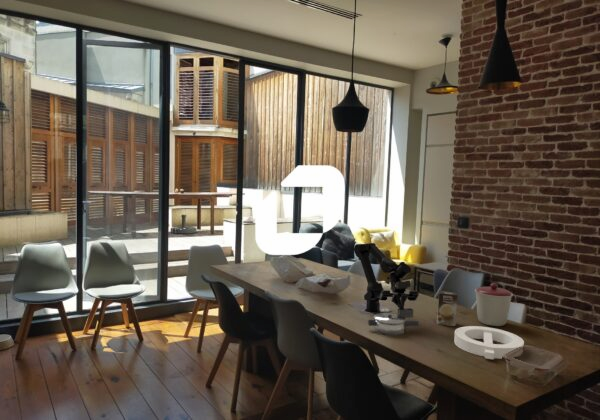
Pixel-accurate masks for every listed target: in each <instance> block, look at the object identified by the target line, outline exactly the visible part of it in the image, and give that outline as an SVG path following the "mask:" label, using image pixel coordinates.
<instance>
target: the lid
mask: <svg viewBox="0 0 600 420" xmlns="http://www.w3.org/2000/svg"><path fill="white" fill-rule="evenodd" d="M411 318H414V309H413V308H407V307H406V308H404V309H399V308H397V314H396V313H391V312H380V313H376V314H375V313H374V315H373V320H376V321H378V322H380V323H385V324H403V323H405V320H407V319H411Z"/></svg>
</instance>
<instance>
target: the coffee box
mask: <svg viewBox="0 0 600 420" xmlns="http://www.w3.org/2000/svg"><path fill="white" fill-rule="evenodd" d="M437 300H438V301H437V314H436V324H437V325H442V326H448V327H449V326H450V327H456V322H457V306H458V292H454V291H453V292H452V291H447V290H438V299H437Z"/></svg>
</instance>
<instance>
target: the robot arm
mask: <svg viewBox="0 0 600 420" xmlns="http://www.w3.org/2000/svg"><path fill="white" fill-rule="evenodd" d="M353 251H354V252H353V253H354V254H355V256H356V257H357V258H358V259H359V260H360V264H361V266H362V269H363V272H364V275H365V279H366V282H367V287H366V291H367V292H366V293H365V294H363V298H364V300H365V301H366V305H365V307H366V308H365V309H364V311H365V312H368V313H373V314H375V313H376V314H377V313H378V312H380V311H381V308H380V304H381V303H380V301H387V300H388V298H391V300H390V301H391V302H392V303H394V304H395V305H396V306H397V309H405V303H406V301H407V300H408V301H411V302H412V301H413V302H414V301H417V299H418V298H419V296H420V294H419V291H417V290H409V292H406V291H407V289H408V288H411V286H412V285H411V281H410V280H405V281H402V279H405V278H406V277H407V276H408V275H409V274H410V273H411V271H412V268H411V266H409V265H408V264H407V263H405V261H400V262H399V264H398V263H397V262H396V261H395V260H393V259H391V258H389V257H387V256H386V255H385V254H384V253H383V252H382V250H380V248H379V247H378V246H377V245H376V243H374V242H367V243H356V244H355V245H354V247H353ZM370 254H371V256H373V258H374V259H376V261H377V262H378V263H379V267H380V269H381V270H382V272H383V273H384V274H388V276H386V279H387V281H388V280H389V282H390V290H391V291H390V290H387V289H385V290H384V287H383V285H382V282H378V281H377V277H376V276H375V271H374V269H373V266H372V263H371V260H370Z"/></svg>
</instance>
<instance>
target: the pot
mask: <svg viewBox="0 0 600 420" xmlns="http://www.w3.org/2000/svg"><path fill="white" fill-rule="evenodd" d="M367 325H368V326H372V327H373V326H374V331H375V332H376V333H378V334H380V335H384V336H400V335H403V334H404V333H405V327H417V326H419V320H417V319H406V320H405V323H403V324H385V323H380V322H378V321H376V320H375V319H367Z"/></svg>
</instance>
